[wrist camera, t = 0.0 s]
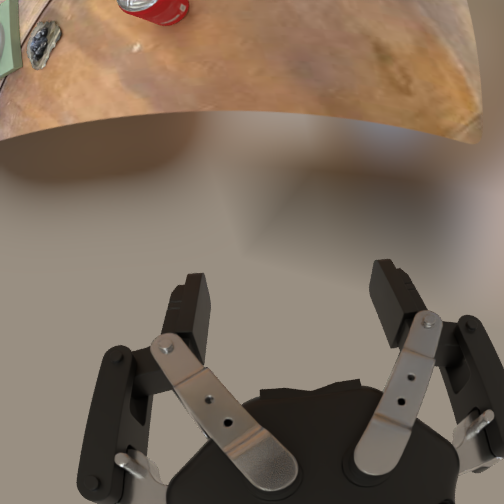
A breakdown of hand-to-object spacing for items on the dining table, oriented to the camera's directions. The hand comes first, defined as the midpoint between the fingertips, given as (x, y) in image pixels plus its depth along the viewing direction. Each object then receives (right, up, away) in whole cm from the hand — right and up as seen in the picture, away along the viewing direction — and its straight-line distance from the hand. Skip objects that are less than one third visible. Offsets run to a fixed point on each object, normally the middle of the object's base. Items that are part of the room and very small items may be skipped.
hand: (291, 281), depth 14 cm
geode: (-32, +31, +14) cm, 47 cm away
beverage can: (-12, +32, +14) cm, 37 cm away
